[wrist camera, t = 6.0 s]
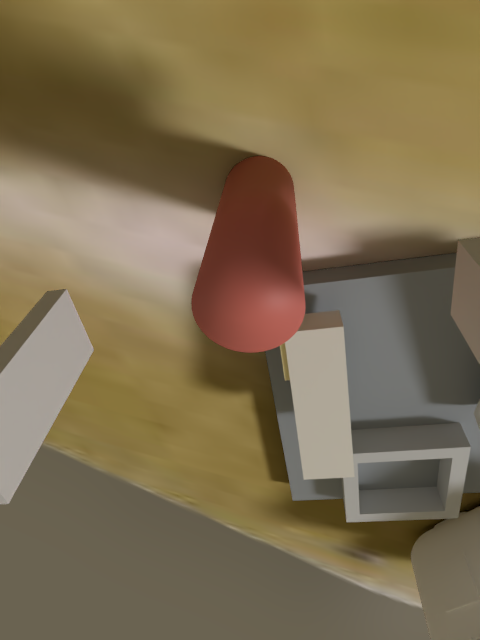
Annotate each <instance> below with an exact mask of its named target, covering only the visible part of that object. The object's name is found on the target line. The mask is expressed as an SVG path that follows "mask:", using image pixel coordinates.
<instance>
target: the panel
mask: <svg viewBox="0 0 480 640" xmlns="http://www.w3.org/2000/svg"><path fill="white" fill-rule="evenodd" d="M456 255H457V253H452V254H444V255H436V256H428V257H419V258H411V259H403V260H395V261H387V262H378V263H370V264H362V265H354V266H346V267H338V268H329V269H321V270H313V271H305V272H302V274H303V284H304V294H305V314H308V313H318V312H327V311H336V310H339V311H340V315H341V319H342V322H343V326H344V339H345V353H346V366H347V380H348V394H349V407H350V421H351V435H352V448H353V462H354V476H355V477H347V478H327V479H308V480H304V478H303V471H302V464H301V456H300V449H299V442H298V434H297V427H296V420H295V412H294V405H293V398H292V390H291V383H290V380H286V381H285V378H284V371H283V364H282V357H281V350H280V346H278V347H276V348H273V349H270V350H267V351H265V353H266V358H267V364H268V369H269V375H270V380H271V385H272V391H273V396H274V402H275V407H276V412H277V418H278V423H279V429H280V434H281V439H282V445H283V450H284V456H285V461H286V466H287V472H288V477H289V483H290V488H291V493H292V499H293V501H299V500H321V499H343V500H344V508H345V515H346V522H370V521H398V520H425V519H453V518H458V517H459V511H460V505H461V500H462V494H463V493H479V492H480V430H479V427H478V424H477V422H476V419H475V416H474V411H475V409H476V406H477V404H478V402H479V400H480V364H479V362H478V361H477V359H476V357H475V356H474V354H473V352H472V350H471V349H470V347H469V345H468V343H467V342H466V340H465V338H464V337H463V335H462V333H461V331H460V330H459V328H458V326H457V324H456V323H455V321H454V319H453V318H452V316H451V304H452V294H453V285H454V275H455V265H456Z"/></svg>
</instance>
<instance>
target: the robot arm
mask: <svg viewBox="0 0 480 640" xmlns="http://www.w3.org/2000/svg"><path fill="white" fill-rule="evenodd" d="M451 316H452V318H453V319H454V321H455V323H456V324H457V326H458V328H459V330H460V331H461V333H462V335H463V337H464V338H465V340H466V342H467V343H468V345H469V347H470V349H471V350H472V352H473V354H474V356H475V357H476V359H477V361H478V362H479V364H480V237H479V238H471V239H463V240H458V245H457V255H456V265H455V275H454V285H453V294H452V304H451ZM93 351H94V349H93V347H92V344H91V342H90V340H89V338H88V335H87V333H86V331H85V329H84V327H83V324H82V322H81V320H80V318H79V315H78V313H77V311H76V309H75V306H74V304H73V302H72V300H71V298H70V295H69V293H68V291H67V289H62V290H54V291H47V292H46V293H45V294H44V295H43V297H42V298H41V299H40V300H39V301H38V303H37V304H36V305H35V306H34V307H33V308H32V310H31V311H30V312H29V313H28V314H27V316H26V317H25V318H24V319H23V320H22V321H21V323H20V324H19V325H18V326H17V327H16V329H15V330H14V331H13V332H12V333H11V334H10V336H9V337H8V338H7V339H6V340H5V342H4V343H3V344H2V345H1V346H0V504H9V502H10V500H11V498H12V496H13V495H14V493H15V491H16V489H17V487H18V485H19V484H20V482H21V480H22V478H23V477H24V475H25V473H26V471H27V469H28V468H29V466H30V464H31V462H32V460H33V459H34V457H35V455H36V453H37V451H38V450H39V448H40V446H41V444H42V442H43V441H44V439H45V437H46V435H47V433H48V432H49V430H50V428H51V426H52V424H53V423H54V421H55V419H56V417H57V415H58V414H59V412H60V410H61V408H62V406H63V405H64V403H65V401H66V399H67V397H68V396H69V394H70V392H71V390H72V388H73V387H74V385H75V383H76V381H77V379H78V378H79V376H80V374H81V372H82V370H83V369H84V367H85V365H86V363H87V361H88V360H89V358H90V356H91V354H92V352H93Z"/></svg>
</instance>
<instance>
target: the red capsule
mask: <svg viewBox="0 0 480 640" xmlns="http://www.w3.org/2000/svg"><path fill="white" fill-rule="evenodd" d="M192 312H193V316H194V318H195V321H196V323H197V325H198V326H199V328H200V329H201V330H202V332H203V333H204V334H205V335H206V336H207V337H208V338H210V339H211V340H212V341H214V342H215V343H217V344H218V345H220V346H222V347H225V348H227V349H230V350H234V351H239V352H248V353H252V352H262V351H267V350H270V349H273V348H276V347H278V346H280V345H282V344H283V343H285V342H286V341H288V340H289V339H290V338H291V337H292V336H293V335H294V334H295V333H296V332H297V330H298V329H299V327H300V326H301V324H302V322H303V319H304V315H305V294H304V284H303V274H302V264H301V254H300V244H299V234H298V223H297V213H296V203H295V193H294V185H293V181H292V178H291V175H290V173H289V172H288V170H287V169H286V168H285V167H284V166H283V165H282V164H281V163H279V162H278V161H276V160H274V159H272V158H269V157H264V156H254V157H249V158H247V159H244V160H242V161H241V162H239V163H238V164H236V165H235V166H234V167H233V169H232V170H231V171H230V173H229V174H228V177H227V179H226V182H225V186H224V189H223V192H222V196H221V199H220V203H219V206H218V209H217V213H216V216H215V220H214V223H213V226H212V230H211V233H210V236H209V240H208V243H207V247H206V250H205V253H204V257H203V260H202V264H201V267H200V270H199V274H198V277H197V281H196V284H195V287H194V291H193V294H192Z"/></svg>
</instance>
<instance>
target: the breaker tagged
mask: <svg viewBox="0 0 480 640" xmlns="http://www.w3.org/2000/svg"><path fill="white" fill-rule="evenodd" d="M280 350H281V357H282V364H283V371H284V378H285V381H286V380H290V383H291V390H292V398H293V405H294V412H295V420H296V427H297V434H298V442H299V449H300V456H301V464H302V471H303V478H304V480H308V479H327V478H347V477H355V476H354V462H353V448H352V435H351V421H350V407H349V394H348V380H347V366H346V353H345V339H344V326H343V322H342V319H341V315H340V311H339V310H336V311H327V312H318V313H308V314H305V315H304V319H303V322H302V324H301V326H300V327H299V329H298V330H297V332H296V333H295V334H294V335H293V336H292V337H291V338H290V339H289V340H288V341H286V342H285V343H283V344H282V345H280Z"/></svg>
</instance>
